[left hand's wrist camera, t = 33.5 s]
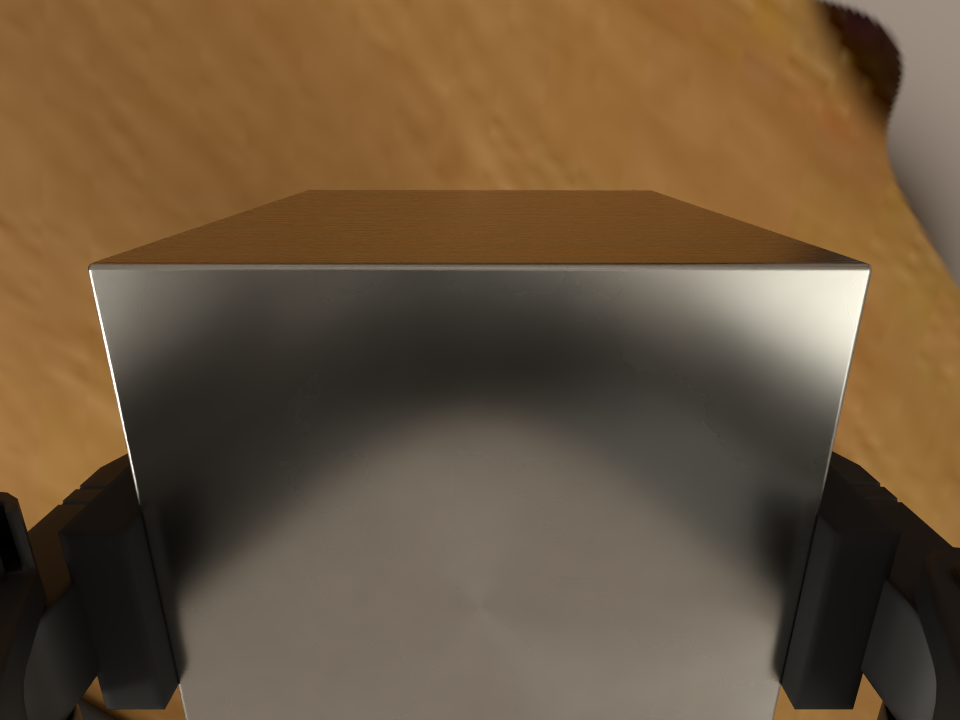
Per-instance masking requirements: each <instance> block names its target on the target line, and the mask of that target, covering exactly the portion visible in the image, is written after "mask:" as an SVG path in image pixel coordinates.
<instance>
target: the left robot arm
mask: <svg viewBox="0 0 960 720" xmlns="http://www.w3.org/2000/svg"><path fill="white" fill-rule="evenodd" d="M863 674H864V675H865V676H866V678H867V679H868V681H869V682H870V683H871V685H872V686H873V688H874V689H875V690H876V692H877V693H878V695H879V696H880V698H881V699H882V700H883V701H882V705H881V708H880V711H879V715H878V718H877V720H960V548H955V547H952V546H951V545H950V544H949V543H947V542H946V541H945V540H944V539H943V538H942V537H941V536H940V535H938V534H937V533H936V532H935V531H934V530H933V529H932V528H930V527H929V526H928V525H927V524H926V523H925V522H924V521H922V520H921V519H920V518H919V517H918V516H917V515H916V514H914V513H913V512H912V511H911V510H910V509H909V508H908V507H906V506H905V505H904V504H903V503H902V502H897V498H896V497H895V496H894V495H893V494H892V493H890V492H889V491H888V490H887V489H886V488H885V487H880V483H879V482H878V481H877V480H876V479H875V478H873V477H872V476H871V475H870V474H869V473H868V472H867V471H865V470H864V469H863V468H862V467H861V466H860V465H858V464H856V463H854V462H852V461H850V460H848V459H846V458H844V457H842V456H840V455H838V454H837V453H835V452H833V451H832V454H831V458H830V463H829V468H828V472H827V477H826V481H825V486H824V490H823V495H822V499H821V504H820V508H819V513H818V518H817V522H816V527H815V531H814V536H813V540H812V545H811V549H810V554H809V558H808V563H807V568H806V572H805V577H804V581H803V586H802V590H801V595H800V599H799V604H798V609H797V613H796V618H795V622H794V627H793V631H792V636H791V640H790V645H789V649H788V654H787V659H786V663H785V668H784V672H783V677H782V681H781V685H782V687H783V689H784V690H785V692H786V694H787V696H788V698H789V700H790V701H791V703H792V705H793V707H794V709H853V707H854V704H855V700H856V696H857V693H858V689H859V686H860V682H861V678H862V675H863ZM96 676H98V680H99V684H100V687H101V691H102V695H103V698H104V702H105V705H106V709H165V708H166V706H167V704H168V702H169V701H170V699H171V697H172V695H173V693H174V691H175V690H176V688H177V686H178V681H177V676H176V672H175V667H174V662H173V658H172V653H171V649H170V644H169V639H168V635H167V630H166V626H165V621H164V616H163V612H162V607H161V603H160V598H159V594H158V589H157V584H156V580H155V575H154V571H153V566H152V561H151V557H150V552H149V548H148V543H147V538H146V534H145V529H144V525H143V520H142V516H141V511H140V506H139V502H138V497H137V493H136V488H135V483H134V479H133V474H132V470H131V465H130V460H129V456H128V454H126V455H124V456H122V457H120V458H118V459H116V460H114V461H112V462H110V463H109V464H107V465H105V466H103V467H101V468H100V469H98V470H97V471H96V472H95V473H94V474H93V475H92V476H90V477H89V478H88V479H87V480H86V481H85V482H84V483H83V484H81V485H80V489H76V490H75V491H74V492H72V493H71V494H70V495H69V496H68V497H67V498H66V499H64V500H63V504H62V505H58V506H57V507H55V508H54V509H53V510H52V511H51V512H50V513H49V514H47V515H46V516H45V517H44V518H43V519H42V520H41V521H40V522H38V523H37V524H36V525H35V526H34V527H33V528H32V529H31V530H29V531H28V532H27V529H26V526H25V522H24V519H23V516H22V512H21V509H20V505H19V502H18V499H17V498H15V497H13V496H12V495H10V494H9V493H5V492H0V720H118V719H116V718H115V717H113V716H111V715H110V714H108V713H106V712H105V711H103V710H101V709H100V708H98V707H96V706H95V705H93V704H91V703H90V702H88V701H86V700H85V699H83V698H82V696H83V695H84V693H85V692H86V691H87V689H88V688H89V686H90V685H91V683H92V682H93V681H94V679H95V678H96Z"/></svg>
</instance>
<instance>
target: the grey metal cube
mask: <svg viewBox="0 0 960 720" xmlns="http://www.w3.org/2000/svg"><path fill="white" fill-rule="evenodd" d="M88 272H89V277H90V281H91V286H92V291H93V295H94V300H95V304H96V309H97V314H98V318H99V323H100V327H101V332H102V337H103V341H104V346H105V350H106V355H107V359H108V364H109V369H110V373H111V378H112V382H113V387H114V392H115V396H116V401H117V405H118V410H119V415H120V419H121V424H122V428H123V433H124V437H125V442H126V447H127V451H128V456H129V460H130V465H131V470H132V474H133V479H134V483H135V488H136V493H137V497H138V502H139V506H140V511H141V516H142V520H143V525H144V529H145V534H146V538H147V543H148V548H149V552H150V557H151V561H152V566H153V571H154V575H155V580H156V584H157V589H158V594H159V598H160V603H161V607H162V612H163V616H164V621H165V626H166V630H167V635H168V639H169V644H170V649H171V653H172V658H173V662H174V667H175V672H176V676H177V681H178V685H179V690H180V695H181V699H182V704H183V708H184V713H185V717H186V720H773V718H774V713H775V709H776V704H777V699H778V695H779V690H780V686H781V681H782V677H783V672H784V668H785V663H786V659H787V654H788V649H789V645H790V640H791V636H792V631H793V627H794V622H795V618H796V613H797V609H798V604H799V599H800V595H801V590H802V586H803V581H804V577H805V572H806V568H807V563H808V558H809V554H810V549H811V545H812V540H813V536H814V531H815V527H816V522H817V518H818V513H819V508H820V504H821V499H822V495H823V490H824V486H825V481H826V477H827V472H828V468H829V463H830V458H831V454H832V449H833V445H834V440H835V436H836V431H837V427H838V422H839V417H840V413H841V408H842V404H843V399H844V395H845V390H846V386H847V381H848V377H849V372H850V367H851V363H852V358H853V354H854V349H855V345H856V340H857V336H858V331H859V327H860V322H861V317H862V313H863V308H864V304H865V299H866V295H867V290H868V286H869V281H870V277H871V272H872V269H871V266H870V265H869V264H867V263H864V262H861V261H858V260H855V259H852V258H849V257H846V256H843V255H840V254H837V253H835V252H832V251H829V250H826V249H823V248H820V247H817V246H814V245H811V244H808V243H805V242H802V241H799V240H796V239H793V238H790V237H787V236H784V235H781V234H778V233H775V232H772V231H769V230H766V229H763V228H760V227H757V226H754V225H752V224H749V223H746V222H743V221H740V220H737V219H734V218H731V217H728V216H725V215H722V214H719V213H716V212H713V211H710V210H707V209H704V208H701V207H698V206H695V205H692V204H689V203H686V202H683V201H680V200H677V199H674V198H671V197H668V196H666V195H663V194H660V193H657V192H654V191H568V190H308V191H305V192H302V193H299V194H296V195H293V196H290V197H287V198H284V199H281V200H278V201H275V202H272V203H269V204H266V205H263V206H260V207H257V208H254V209H251V210H248V211H245V212H242V213H239V214H236V215H233V216H231V217H228V218H225V219H222V220H219V221H216V222H213V223H210V224H207V225H204V226H201V227H198V228H195V229H192V230H189V231H186V232H183V233H180V234H177V235H174V236H171V237H168V238H165V239H162V240H159V241H156V242H153V243H150V244H147V245H144V246H141V247H138V248H135V249H132V250H129V251H126V252H123V253H120V254H117V255H114V256H111V257H108V258H105V259H103V260H100V261H97V262H94V263H92V264H90V265H89V267H88Z"/></svg>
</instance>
